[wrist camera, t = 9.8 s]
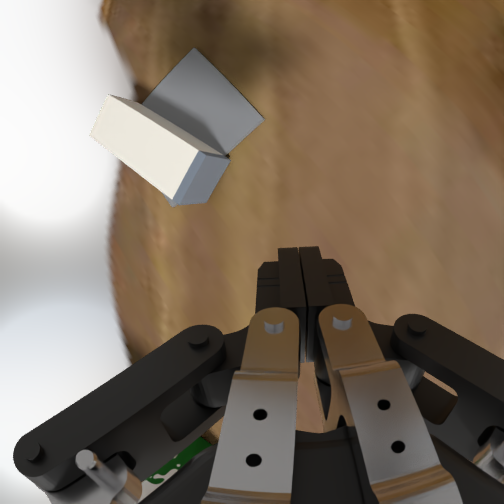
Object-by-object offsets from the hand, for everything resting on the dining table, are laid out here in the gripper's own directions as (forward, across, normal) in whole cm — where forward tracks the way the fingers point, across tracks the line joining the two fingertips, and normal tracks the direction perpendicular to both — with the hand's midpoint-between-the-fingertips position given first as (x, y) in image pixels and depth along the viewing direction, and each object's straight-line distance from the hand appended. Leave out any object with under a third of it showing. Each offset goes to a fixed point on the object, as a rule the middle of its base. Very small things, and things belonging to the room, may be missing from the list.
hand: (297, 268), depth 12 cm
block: (+15, +6, +1) cm, 16 cm away
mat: (+20, +9, -4) cm, 23 cm away
